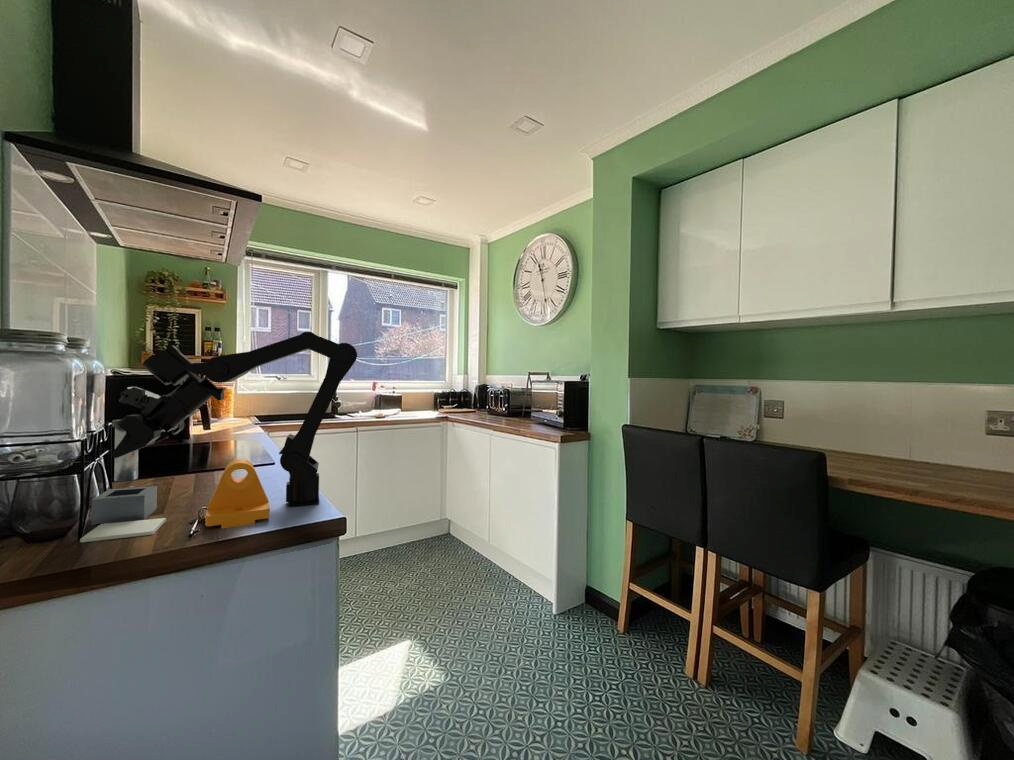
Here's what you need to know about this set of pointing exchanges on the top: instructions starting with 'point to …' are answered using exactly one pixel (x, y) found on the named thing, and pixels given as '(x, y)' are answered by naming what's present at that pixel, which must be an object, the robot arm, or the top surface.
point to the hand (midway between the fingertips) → (118, 454)
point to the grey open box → (124, 505)
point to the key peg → (124, 459)
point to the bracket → (237, 498)
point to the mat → (123, 529)
